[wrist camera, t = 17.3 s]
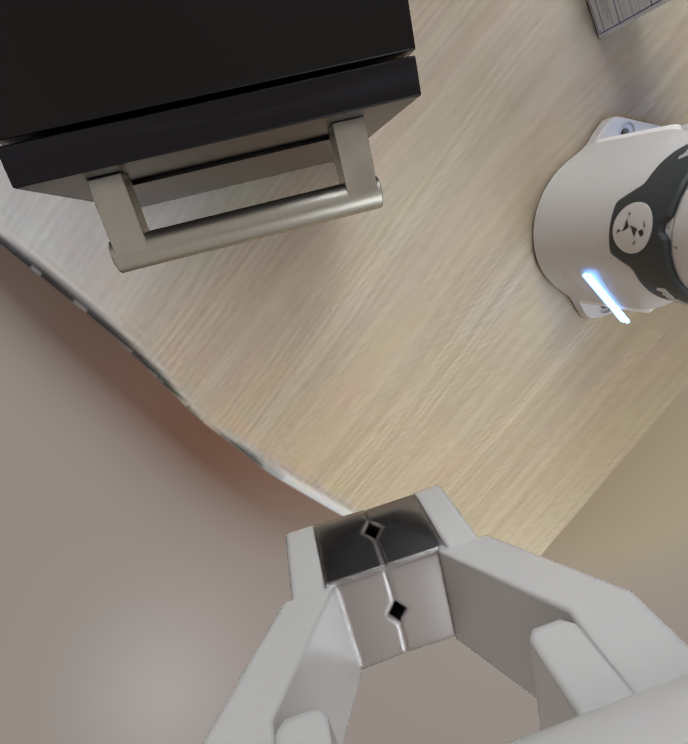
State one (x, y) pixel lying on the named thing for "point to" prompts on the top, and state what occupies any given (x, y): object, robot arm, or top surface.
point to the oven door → (222, 160)
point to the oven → (175, 53)
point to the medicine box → (619, 13)
